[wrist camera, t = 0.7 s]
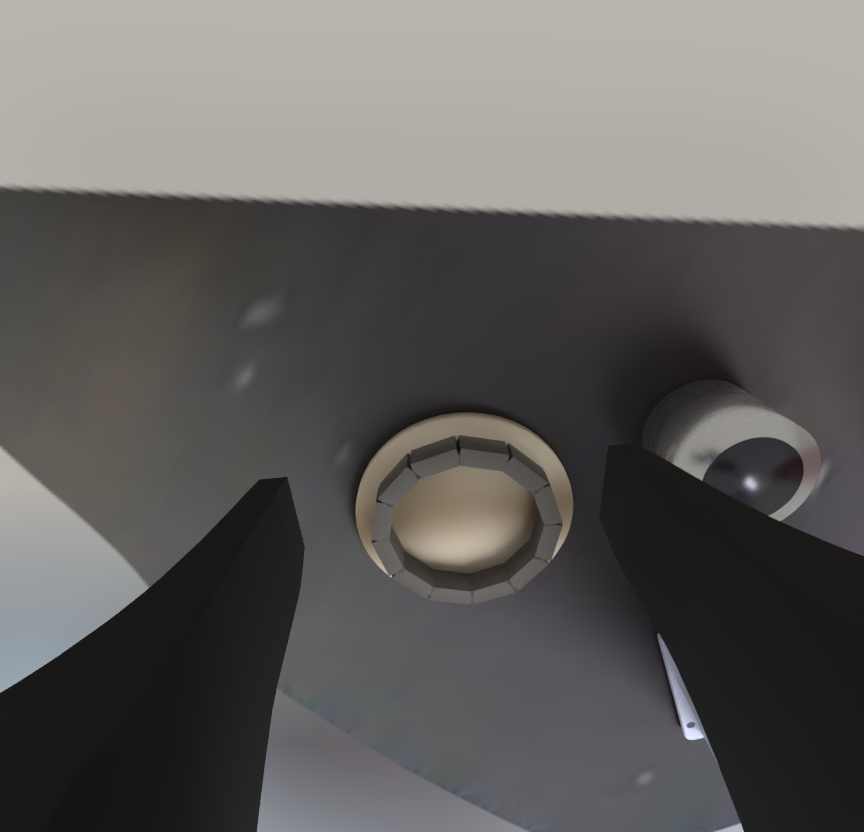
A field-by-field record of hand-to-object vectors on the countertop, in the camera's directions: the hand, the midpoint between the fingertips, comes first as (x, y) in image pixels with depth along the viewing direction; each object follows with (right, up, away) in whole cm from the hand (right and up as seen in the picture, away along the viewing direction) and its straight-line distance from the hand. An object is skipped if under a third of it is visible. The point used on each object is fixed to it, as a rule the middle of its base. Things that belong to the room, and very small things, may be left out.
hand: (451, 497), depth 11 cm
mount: (+1, -3, +12) cm, 13 cm away
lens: (+11, +1, +11) cm, 16 cm away
